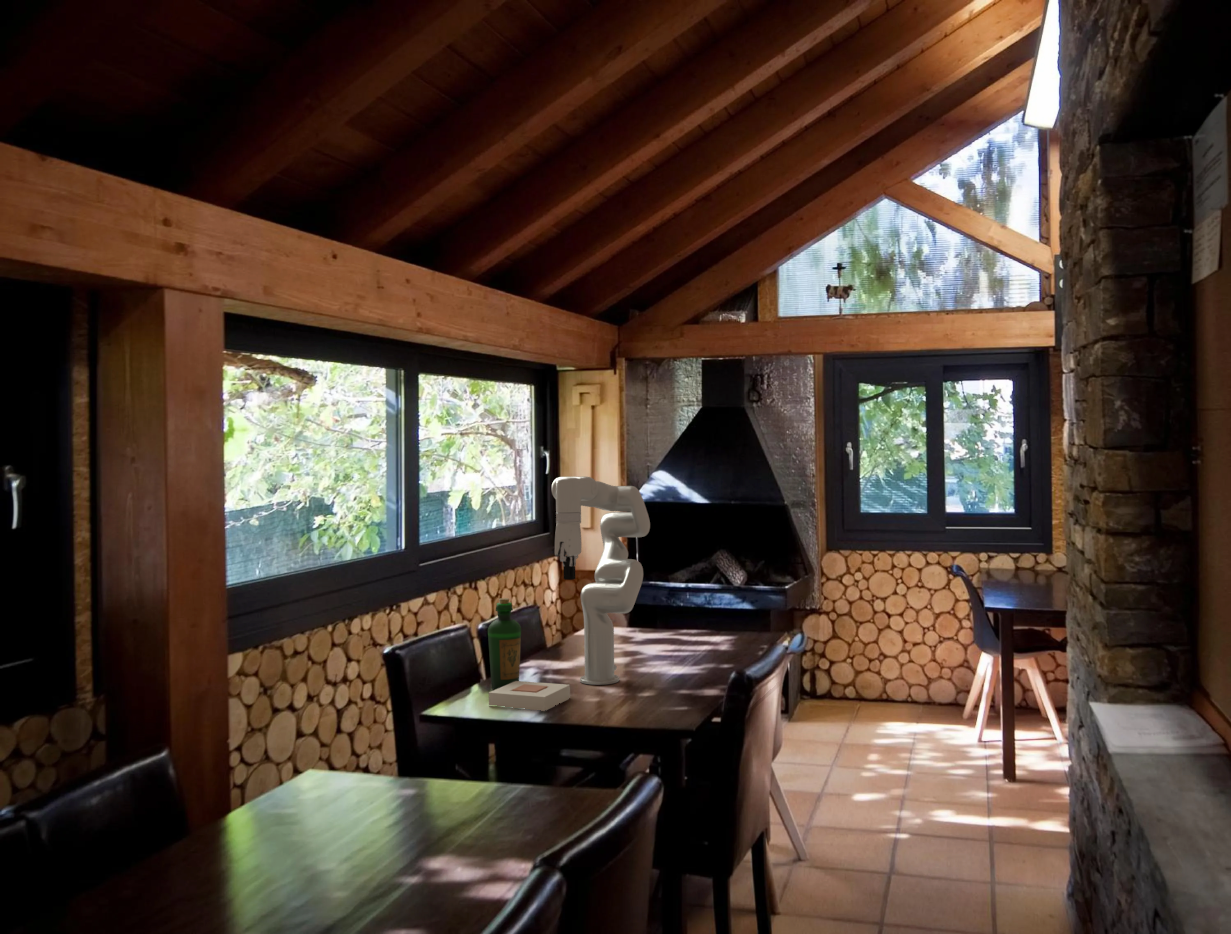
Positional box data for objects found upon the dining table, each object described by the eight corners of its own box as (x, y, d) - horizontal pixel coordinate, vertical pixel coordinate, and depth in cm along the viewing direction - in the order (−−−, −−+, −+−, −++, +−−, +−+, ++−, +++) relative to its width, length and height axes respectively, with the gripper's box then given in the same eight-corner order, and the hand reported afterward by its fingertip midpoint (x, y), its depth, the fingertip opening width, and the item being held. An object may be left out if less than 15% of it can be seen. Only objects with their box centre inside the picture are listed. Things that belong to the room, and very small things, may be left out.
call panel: (516, 694, 311) (516, 680, 311) (570, 698, 304) (569, 684, 304) (488, 706, 295) (488, 692, 295) (544, 711, 289) (544, 696, 289)
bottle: (516, 692, 313) (515, 601, 313) (483, 691, 315) (482, 600, 315) (526, 685, 324) (525, 596, 324) (494, 684, 326) (493, 596, 326)
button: (524, 697, 305) (524, 684, 305) (547, 699, 302) (547, 686, 302) (512, 703, 298) (512, 689, 298) (535, 705, 295) (535, 691, 295)
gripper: (567, 517, 316) (568, 576, 316) (546, 519, 302) (547, 581, 302) (590, 517, 313) (590, 577, 313) (569, 519, 299) (570, 582, 299)
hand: (569, 579), depth 308 cm, fingers closed
